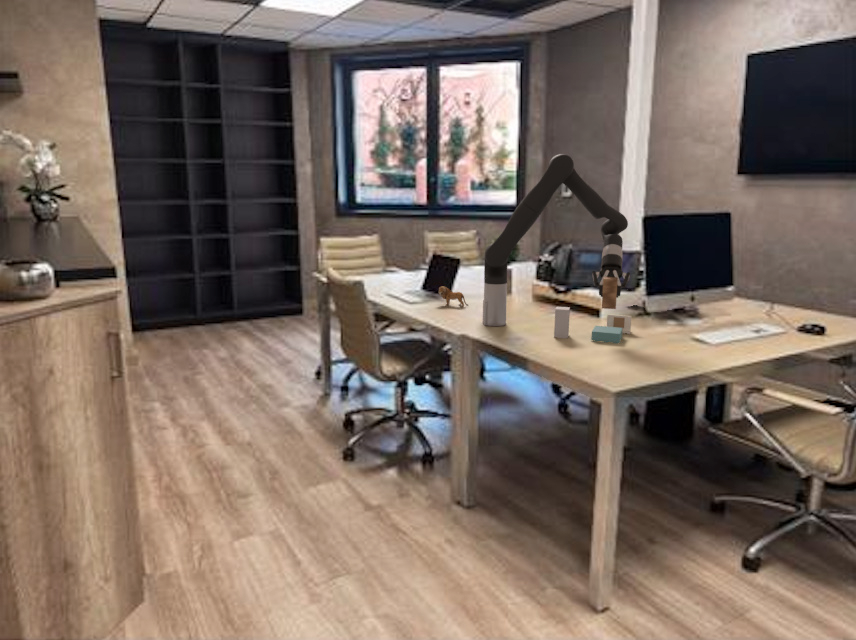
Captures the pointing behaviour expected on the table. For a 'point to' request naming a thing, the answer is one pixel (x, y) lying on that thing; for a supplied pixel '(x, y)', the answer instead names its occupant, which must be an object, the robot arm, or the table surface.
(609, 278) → the walnut block
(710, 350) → the table surface
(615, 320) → the plaque
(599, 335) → the teal base block
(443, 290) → the lion figurine
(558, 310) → the grey block
